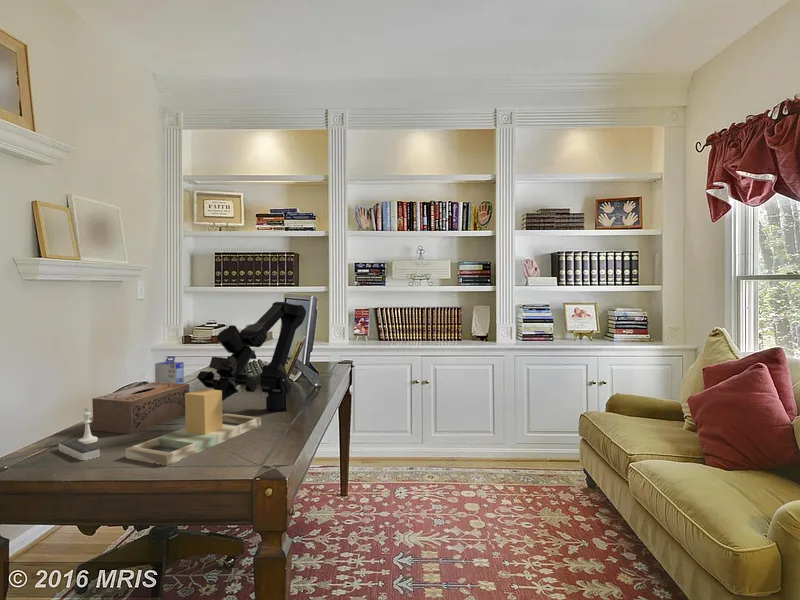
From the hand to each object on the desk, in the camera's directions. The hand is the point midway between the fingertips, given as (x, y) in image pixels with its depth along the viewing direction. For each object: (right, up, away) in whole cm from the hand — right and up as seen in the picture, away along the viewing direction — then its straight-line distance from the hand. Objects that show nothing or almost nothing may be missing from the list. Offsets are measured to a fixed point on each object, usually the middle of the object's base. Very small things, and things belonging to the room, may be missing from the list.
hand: (213, 405), depth 153 cm
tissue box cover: (-28, -9, +16) cm, 34 cm away
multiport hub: (-30, -10, -15) cm, 35 cm away
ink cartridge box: (-38, -7, +57) cm, 69 cm away
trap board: (-2, -9, -5) cm, 10 cm away
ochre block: (-1, -6, -3) cm, 7 cm away
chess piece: (-34, -9, -5) cm, 35 cm away
